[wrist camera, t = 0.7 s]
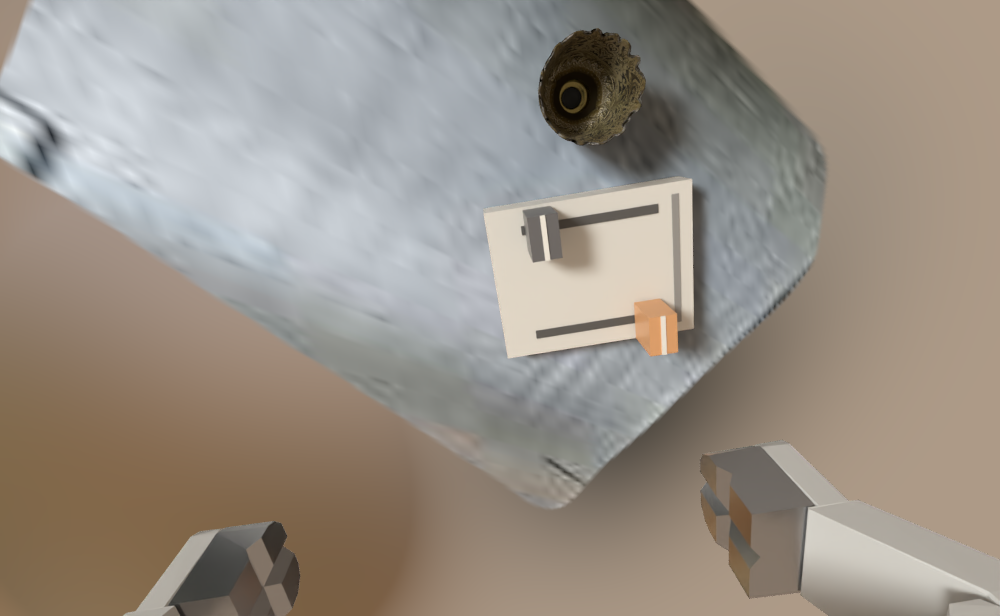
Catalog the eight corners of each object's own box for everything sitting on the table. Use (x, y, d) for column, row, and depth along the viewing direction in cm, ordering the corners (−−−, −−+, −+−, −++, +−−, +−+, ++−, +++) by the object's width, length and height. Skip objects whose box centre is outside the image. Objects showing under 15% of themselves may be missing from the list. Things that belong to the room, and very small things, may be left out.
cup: (563, 28, 38) (583, 1, 30) (631, 85, 40) (667, 73, 32) (511, 110, 40) (518, 104, 32) (578, 161, 42) (600, 166, 34)
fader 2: (633, 302, 43) (649, 318, 39) (659, 298, 43) (677, 314, 39) (636, 337, 44) (650, 356, 40) (661, 333, 44) (678, 352, 40)
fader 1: (522, 210, 39) (526, 218, 36) (550, 205, 39) (557, 212, 36) (528, 251, 41) (532, 263, 37) (555, 246, 41) (562, 258, 37)
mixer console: (483, 208, 43) (483, 213, 40) (677, 176, 42) (692, 179, 39) (506, 345, 48) (508, 358, 45) (681, 317, 47) (694, 328, 44)
